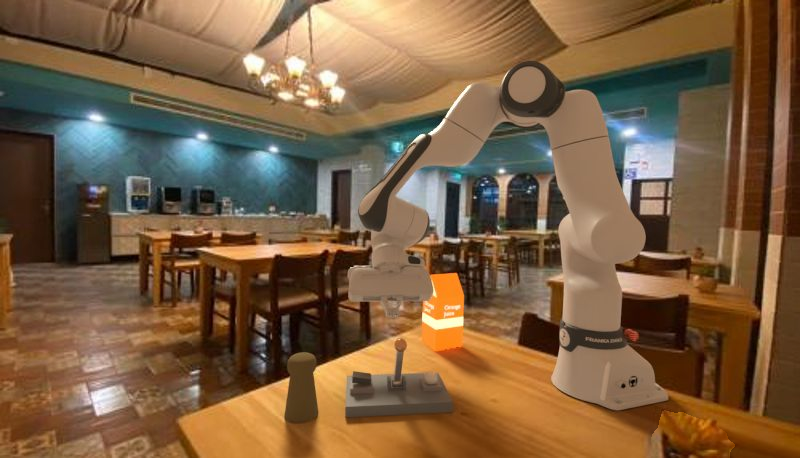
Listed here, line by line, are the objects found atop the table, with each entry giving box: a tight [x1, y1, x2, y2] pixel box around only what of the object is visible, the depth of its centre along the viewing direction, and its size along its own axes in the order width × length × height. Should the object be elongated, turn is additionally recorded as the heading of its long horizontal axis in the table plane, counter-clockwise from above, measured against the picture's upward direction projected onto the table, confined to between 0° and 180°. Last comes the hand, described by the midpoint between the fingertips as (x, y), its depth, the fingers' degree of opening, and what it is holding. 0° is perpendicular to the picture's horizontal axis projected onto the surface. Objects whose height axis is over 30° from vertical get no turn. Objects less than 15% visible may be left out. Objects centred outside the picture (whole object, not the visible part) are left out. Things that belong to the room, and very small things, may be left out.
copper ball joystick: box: [392, 337, 408, 387], centre depth 70 cm, size 2×2×13 cm
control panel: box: [344, 372, 454, 418], centre depth 73 cm, size 20×12×4 cm, turn 97°
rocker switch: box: [351, 370, 372, 385], centre depth 72 cm, size 4×2×1 cm, turn 97°
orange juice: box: [421, 272, 465, 352], centre depth 101 cm, size 8×9×20 cm
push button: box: [424, 371, 437, 384], centre depth 73 cm, size 3×3×1 cm
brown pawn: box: [284, 351, 319, 424], centre depth 66 cm, size 6×6×11 cm
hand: (392, 316), depth 82 cm, fingers closed
